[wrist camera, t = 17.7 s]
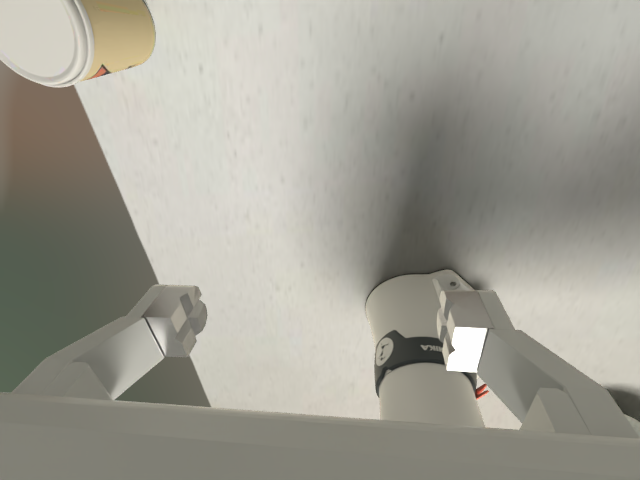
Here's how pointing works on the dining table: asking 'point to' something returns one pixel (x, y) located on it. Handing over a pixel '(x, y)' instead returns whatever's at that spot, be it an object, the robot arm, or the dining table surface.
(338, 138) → the dining table surface
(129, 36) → the coffee cup
